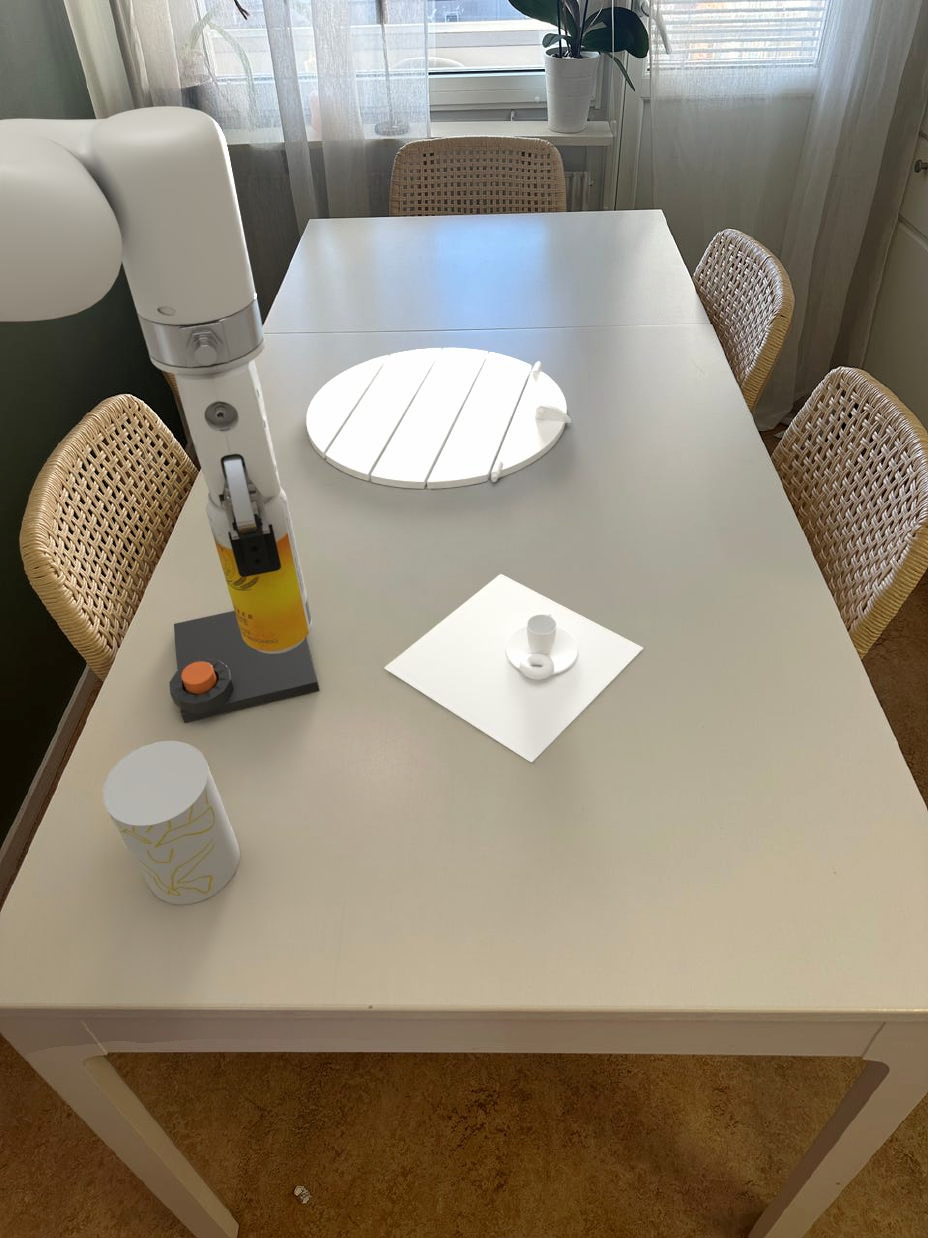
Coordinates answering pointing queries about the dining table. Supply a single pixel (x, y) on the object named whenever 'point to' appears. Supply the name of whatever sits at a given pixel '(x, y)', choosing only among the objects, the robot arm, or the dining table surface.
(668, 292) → the dining table surface
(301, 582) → the beer can
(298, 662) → the scale
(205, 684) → the power button
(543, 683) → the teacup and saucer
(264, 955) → the dining table surface
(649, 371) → the dining table surface
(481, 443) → the lazy susan
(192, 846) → the cup
